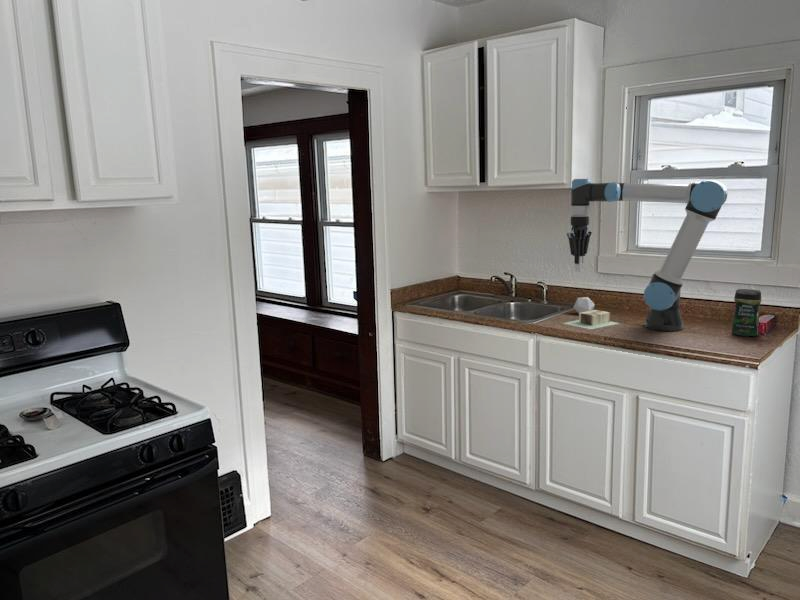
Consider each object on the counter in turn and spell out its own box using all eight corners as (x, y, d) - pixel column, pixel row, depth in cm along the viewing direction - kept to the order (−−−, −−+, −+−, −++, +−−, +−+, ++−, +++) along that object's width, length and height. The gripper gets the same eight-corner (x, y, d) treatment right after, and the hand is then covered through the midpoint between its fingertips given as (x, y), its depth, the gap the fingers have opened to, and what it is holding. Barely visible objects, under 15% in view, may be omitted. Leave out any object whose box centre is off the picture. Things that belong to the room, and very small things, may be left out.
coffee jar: (729, 335, 264) (732, 289, 261) (733, 331, 271) (736, 287, 267) (756, 338, 259) (760, 291, 255) (760, 334, 265) (763, 288, 262)
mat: (619, 324, 289) (619, 323, 289) (590, 330, 279) (590, 329, 279) (590, 318, 302) (590, 317, 302) (562, 323, 292) (562, 323, 292)
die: (592, 318, 305) (600, 299, 308) (575, 309, 305) (583, 290, 307) (584, 321, 314) (592, 303, 316) (568, 312, 313) (575, 294, 316)
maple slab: (593, 325, 285) (609, 322, 291) (593, 315, 285) (610, 312, 291) (578, 322, 292) (595, 319, 298) (579, 312, 291) (595, 309, 297)
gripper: (583, 214, 284) (581, 269, 288) (562, 216, 277) (561, 271, 281) (597, 215, 278) (595, 270, 282) (576, 216, 270) (574, 273, 275)
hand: (578, 271), depth 281 cm, fingers closed
